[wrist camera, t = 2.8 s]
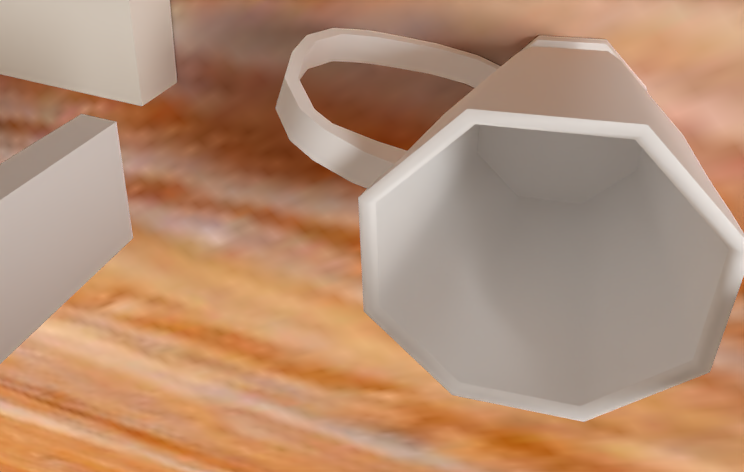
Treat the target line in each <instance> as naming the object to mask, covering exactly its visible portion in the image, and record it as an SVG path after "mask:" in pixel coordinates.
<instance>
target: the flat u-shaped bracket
mask: <svg viewBox="0 0 744 472" xmlns="http://www.w3.org/2000/svg"><path fill="white" fill-rule="evenodd" d="M0 74H1V75H6V76H10V77H15V78H19V79H24V80H28V81H32V82H37V83H41V84H46V85H50V86H55V87H59V88H63V89H68V90H72V91H77V92H81V93H86V94H90V95H95V96H99V97H103V98H108V99H112V100H117V101H121V102H126V103H130V104H134V105H139V106H143V105H145V104H146V103H148V102H149V101H151V100H152V99H154V98H155V97H157V96H158V95H160V94H161V93H162V92H164V91H165V90H167V89H168V88H170V87H171V86H173V85H174V84H176V83H177V74H176V63H175V52H174V41H173V30H172V19H171V8H170V0H0Z"/></svg>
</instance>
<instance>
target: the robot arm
mask: <svg viewBox="0 0 744 472" xmlns="http://www.w3.org/2000/svg"><path fill="white" fill-rule="evenodd" d="M132 239H133V234H132V227H131V220H130V213H129V206H128V199H127V192H126V185H125V178H124V171H123V164H122V157H121V150H120V143H119V136H118V129H117V122H116V121H111V120H107V119H102V118H98V117H93V116H89V115H84V114H80V115H79V116H77V117H76V118H74V119H72V120H71V121H69V122H67V123H66V124H64V125H63V126H61V127H59V128H58V129H56V130H54V131H53V132H51V133H50V134H48V135H46V136H45V137H43V138H41V139H40V140H38V141H37V142H35V143H33V144H32V145H30V146H28V147H27V148H25V149H24V150H22V151H20V152H19V153H17V154H15V155H14V156H12V157H11V158H9V159H7V160H6V161H4V162H2V163H1V164H0V364H1V363H2V362H3V361H4V360H5V359H6V358H7V357H8V356H9V355H10V354H11V353H12V352H13V351H14V350H15V349H16V348H18V347H19V346H20V345H21V344H22V343H23V342H24V341H25V340H26V339H27V338H28V337H29V336H30V335H31V334H32V333H33V332H34V331H35V330H37V329H38V328H39V327H40V326H41V325H42V324H43V323H44V322H45V321H46V320H47V319H48V318H49V317H50V316H51V315H52V314H53V313H54V312H56V311H57V310H58V309H59V308H60V307H61V306H62V305H63V304H64V303H65V302H66V301H67V300H68V299H69V298H70V297H71V296H72V295H73V294H75V293H76V292H77V291H78V290H79V289H80V288H81V287H82V286H83V285H84V284H85V283H86V282H87V281H88V280H89V279H90V278H91V277H92V276H94V275H95V274H96V273H97V272H98V271H99V270H100V269H101V268H102V267H103V266H104V265H105V264H106V263H107V262H108V261H109V260H110V259H111V258H113V257H114V256H115V255H116V254H117V253H118V252H119V251H120V250H121V249H122V248H123V247H124V246H125V245H126V244H127V243H128V242H129V241H130V240H132Z"/></svg>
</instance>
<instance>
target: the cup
mask: <svg viewBox="0 0 744 472" xmlns="http://www.w3.org/2000/svg"><path fill="white" fill-rule="evenodd" d="M332 61H339V62H355V63H368V64H375V65H381V66H388V67H394V68H400V69H406V70H411V71H417V72H422V73H428V74H432V75H436V76H439V77H443V78H447V79H450V80H454V81H457V82H461V83H465V84H467V85H469V86H471V87H473V88H474V89H473V90H472V91H471V92H470V93H468V94H467V95H466V96H465V97H464V98H462V99H461V100H460V101H459V102H458V103H456V104H455V105H454V106H453V107H452V108H450V109H449V110H448V111H447V112H446V113H444V114H443V115H442V116H441V118H440V119H439V120H438V121H437V122H436V123H435V124H434V125H433V126H432V127H431V128H430V129H429V130H428V131H427V132H426V133H425V134H424V135H423V136H422V137H421V138H420V139H419V140H418V141H417V142H416V143H415V144H414V145H413V146H412V147H411V148H410V149H409V150H407V151H406V150H403V149H400V148H397V147H394V146H391V145H388V144H385V143H381V142H378V141H376V140H373V139H371V138H368V137H366V136H363V135H361V134H358V133H356V132H353V131H350V130H348V129H345V128H343V127H340V126H338V125H335V124H333V123H331V122H330V121H329V120H327V119H326V118H325V117H324V116H323V115H321V114H320V113H319V112H318V111H316V110H315V109H314V107H313V105H312V103H311V101H310V99H309V97H308V96H307V94H306V92H305V90H304V88H303V86H302V84H301V82H300V79H301V78H302V76H303V75H304V73H305V72H306V71H307V69H310V68H313V67H316V66H319V65H322V64H325V63H328V62H332ZM275 109H276V111H277V113H278V116H279V118H280V120H281V122H282V124H283V127H284V129H285V131H286V133H287V136H288V138H289V140H290V141H291V142H292V143H293V144H295V145H296V146H297V147H298V148H299V149H300V150H302V151H303V152H304V153H305V154H306V155H307V156H309V157H310V158H311V159H312V160H313V161H315V162H317V163H319V164H320V165H322V166H324V167H326V168H327V169H329V170H331V171H333V172H334V173H336V174H338V175H339V176H341V177H343V178H345V179H346V180H348V181H350V182H352V183H354V184H357V185H359V186H362V187H364V188H367V189H366V190H365V191H364V192H363V193H362V194H361V195H360V196H359V197H358V203H359V224H360V244H361V264H362V285H363V305H364V312H365V313H366V314H367V315H368V316H369V317H370V318H371V319H372V320H373V321H375V322H376V323H377V324H378V325H379V326H380V327H381V328H382V329H383V330H384V331H385V332H386V333H387V334H388V335H389V336H390V337H391V338H393V339H394V340H395V341H396V342H397V343H398V344H399V345H400V346H401V347H402V348H403V349H404V350H405V351H406V352H407V353H408V354H409V355H411V356H412V357H413V358H414V359H415V360H416V361H417V362H418V363H419V364H420V365H421V366H422V367H423V368H424V369H425V370H426V371H427V372H429V373H430V374H431V375H432V376H433V377H434V378H435V379H436V380H437V381H438V382H439V383H440V384H441V385H442V386H443V387H444V388H445V389H447V390H448V391H449V392H450V393H451V394H452V395H454V396H459V397H464V398H469V399H474V400H479V401H484V402H489V403H494V404H499V405H504V406H509V407H514V408H519V409H523V410H528V411H533V412H538V413H543V414H548V415H553V416H558V417H563V418H568V419H573V420H578V421H583V422H584V421H587V420H590V419H592V418H595V417H597V416H600V415H602V414H605V413H607V412H610V411H612V410H615V409H618V408H620V407H623V406H625V405H628V404H630V403H633V402H635V401H638V400H640V399H643V398H646V397H648V396H651V395H653V394H656V393H658V392H661V391H663V390H666V389H668V388H671V387H673V386H676V385H679V384H681V383H684V382H686V381H689V380H691V379H694V378H696V377H699V376H701V375H704V374H707V373H709V372H710V370H711V368H712V365H713V362H714V359H715V356H716V353H717V350H718V348H719V345H720V342H721V339H722V336H723V333H724V330H725V328H726V325H727V322H728V319H729V316H730V313H731V310H732V308H733V305H734V302H735V299H736V296H737V293H738V290H739V288H740V285H741V282H742V279H743V276H744V233H743V231H742V230H741V228H740V226H739V225H738V223H737V221H736V220H735V218H734V216H733V215H732V213H731V212H730V210H729V208H728V207H727V205H726V204H725V202H724V201H723V199H722V198H721V196H720V195H719V193H718V192H717V190H716V189H715V187H714V186H713V184H712V183H711V181H710V180H709V178H708V176H707V175H706V173H705V171H704V170H703V168H702V166H701V165H700V163H699V161H698V159H697V158H696V156H695V154H694V153H693V151H692V149H691V148H690V146H689V144H688V143H687V141H686V139H685V137H684V136H683V134H682V133H681V132H680V131H679V129H678V128H677V127H676V126H675V125H674V123H673V122H672V121H671V120H670V119H669V117H668V116H667V115H666V114H665V113H664V111H663V110H662V109H661V108H660V107H659V105H658V104H657V103H656V102H655V101H654V99H653V98H652V97H651V96H650V95H649V94H648V92H647V87H646V86H645V85H644V84H643V82H642V81H641V80H640V79H639V78H638V76H637V75H636V74H635V73H634V72H633V70H632V69H631V68H630V67H629V66H628V65H627V63H626V62H625V61H624V60H623V59H622V57H621V56H620V55H619V54H618V53H617V51H616V50H615V49H614V48H613V47H612V45H611V44H610V43H609V42H608V41H607V39H592V38H575V37H558V36H541V35H539V36H538V37H536V38H535V39H534V40H533V41H532V42H530V43H529V44H528V45H527V46H526V47H524V48H523V49H522V50H521V51H520V52H518V53H516V54H515V55H514V56H513V57H512V58H510V59H509V60H508V61H507V62H506V63H504V64H503V65H502V66H499V65H497V64H495V63H493V62H491V61H489V60H487V59H485V58H482V57H480V56H478V55H475V54H472V53H468V52H465V51H461V50H458V49H455V48H451V47H448V46H444V45H441V44H437V43H432V42H428V41H423V40H418V39H413V38H408V37H404V36H399V35H393V34H388V33H382V32H377V31H371V30H362V29H345V28H330V29H327V30H323V31H320V32H316V33H312V34H309V35H306V36H305V37H304V39H303V40H302V41H301V42H300V43H299V44H298V45H297V47H296V48H295V49H294V50H293V51H292V54H291V57H290V60H289V64H288V67H287V70H286V74H285V77H284V80H283V84H282V87H281V90H280V94H279V97H278V100H277V104H276V107H275Z"/></svg>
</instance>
